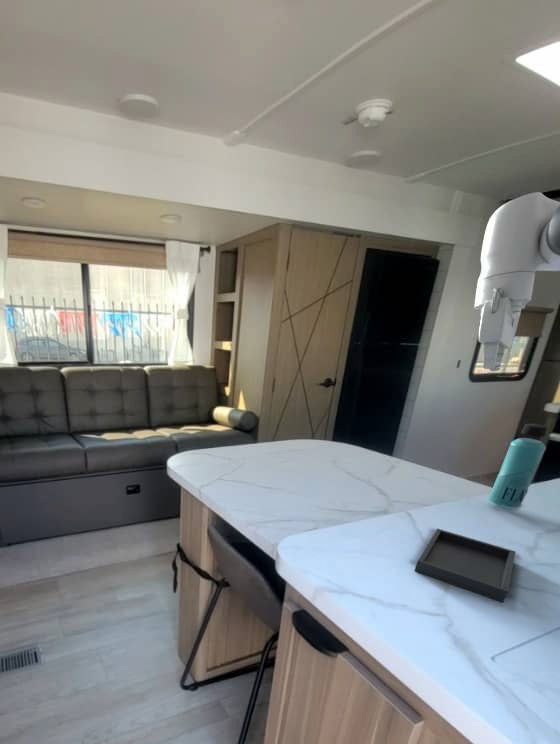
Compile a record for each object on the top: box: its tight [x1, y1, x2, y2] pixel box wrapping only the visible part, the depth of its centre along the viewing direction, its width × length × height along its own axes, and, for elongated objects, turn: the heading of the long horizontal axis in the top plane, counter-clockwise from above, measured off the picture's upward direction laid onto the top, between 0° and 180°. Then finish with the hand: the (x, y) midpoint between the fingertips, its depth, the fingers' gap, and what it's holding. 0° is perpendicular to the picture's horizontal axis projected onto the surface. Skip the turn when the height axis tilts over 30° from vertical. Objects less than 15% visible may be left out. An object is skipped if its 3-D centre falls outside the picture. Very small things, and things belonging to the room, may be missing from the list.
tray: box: [414, 528, 516, 603], centre depth 72 cm, size 17×13×2 cm
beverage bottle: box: [488, 423, 548, 509], centre depth 92 cm, size 6×7×20 cm
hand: (491, 369), depth 83 cm, fingers open, 8 cm apart
